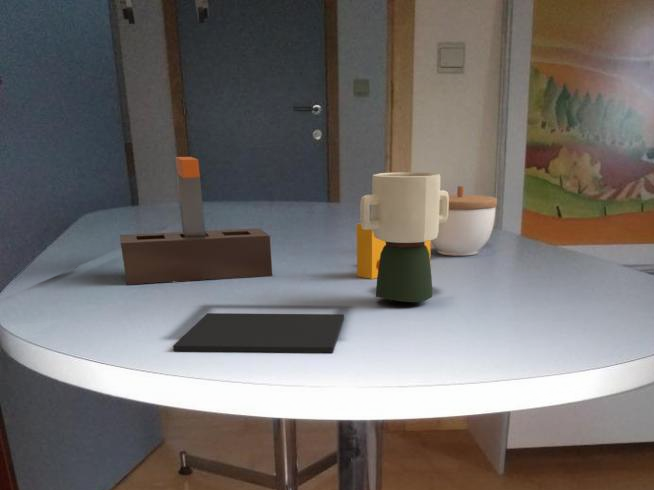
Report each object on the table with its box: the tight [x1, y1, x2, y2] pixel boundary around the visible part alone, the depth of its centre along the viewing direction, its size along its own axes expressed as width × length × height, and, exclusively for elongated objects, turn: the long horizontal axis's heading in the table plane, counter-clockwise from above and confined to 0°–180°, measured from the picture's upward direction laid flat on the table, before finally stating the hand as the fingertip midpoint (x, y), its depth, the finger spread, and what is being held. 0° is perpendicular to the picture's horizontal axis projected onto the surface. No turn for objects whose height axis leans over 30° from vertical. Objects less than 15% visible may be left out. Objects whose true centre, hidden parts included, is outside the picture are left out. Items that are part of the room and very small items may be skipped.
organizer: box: [119, 228, 273, 286], centre depth 93 cm, size 7×18×5 cm, turn 108°
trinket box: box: [431, 185, 498, 257], centre depth 107 cm, size 11×11×9 cm
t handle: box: [174, 156, 206, 238], centre depth 91 cm, size 8×3×14 cm, turn 18°
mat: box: [172, 312, 345, 354], centre depth 68 cm, size 14×12×1 cm
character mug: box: [359, 171, 450, 305], centre depth 77 cm, size 11×7×13 cm, turn 121°
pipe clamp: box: [356, 222, 432, 280], centre depth 95 cm, size 12×4×6 cm, turn 137°
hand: (166, 17), depth 89 cm, fingers open, 8 cm apart
